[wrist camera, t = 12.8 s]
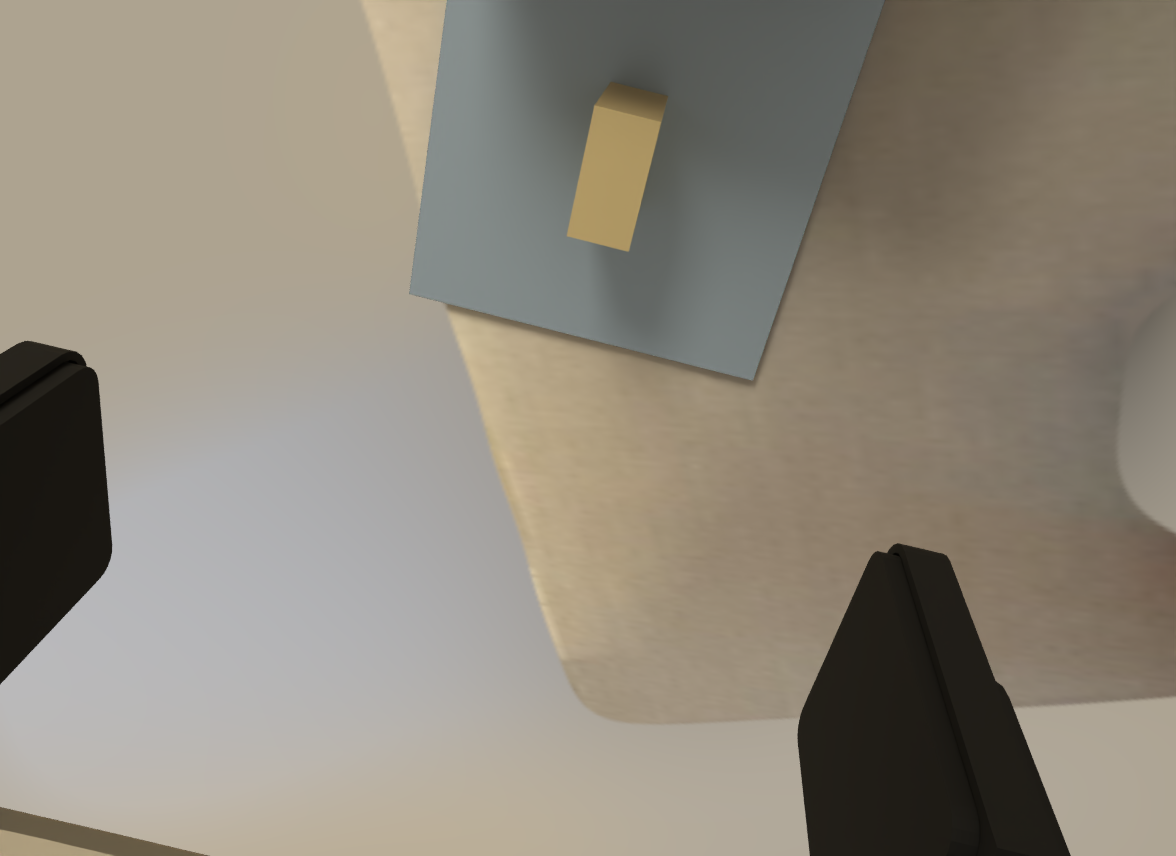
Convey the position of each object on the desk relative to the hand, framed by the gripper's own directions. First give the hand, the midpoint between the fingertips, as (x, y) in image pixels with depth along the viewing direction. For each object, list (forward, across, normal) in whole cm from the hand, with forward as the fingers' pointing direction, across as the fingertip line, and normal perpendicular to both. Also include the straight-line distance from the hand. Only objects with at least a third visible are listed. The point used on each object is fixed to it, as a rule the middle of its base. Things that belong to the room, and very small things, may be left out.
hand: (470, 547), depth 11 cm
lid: (+25, 0, 0) cm, 25 cm away
